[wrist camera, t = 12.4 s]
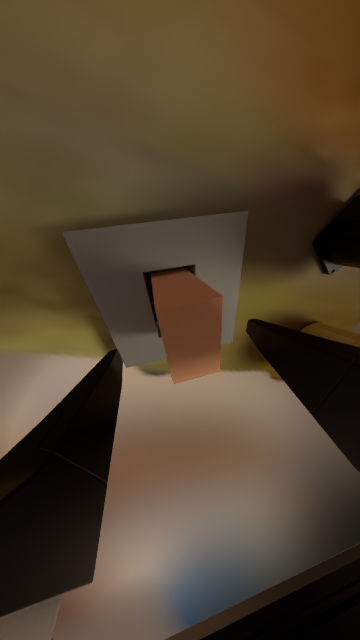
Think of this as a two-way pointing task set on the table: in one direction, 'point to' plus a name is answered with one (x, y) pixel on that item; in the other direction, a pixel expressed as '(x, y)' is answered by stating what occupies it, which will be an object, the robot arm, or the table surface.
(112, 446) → the robot arm
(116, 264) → the socket block
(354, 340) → the plant pot
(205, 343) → the keyed peg
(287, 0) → the table surface
